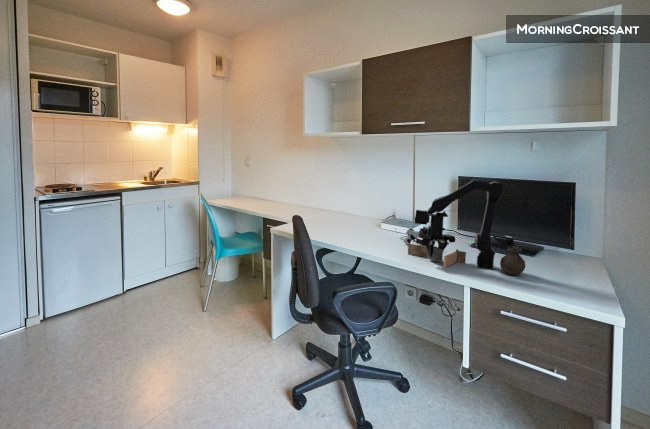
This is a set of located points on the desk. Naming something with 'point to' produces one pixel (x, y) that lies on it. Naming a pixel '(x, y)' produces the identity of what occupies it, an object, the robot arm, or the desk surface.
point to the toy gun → (413, 236)
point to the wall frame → (422, 251)
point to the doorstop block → (436, 254)
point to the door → (450, 259)
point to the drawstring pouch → (513, 261)
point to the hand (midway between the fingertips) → (434, 256)
